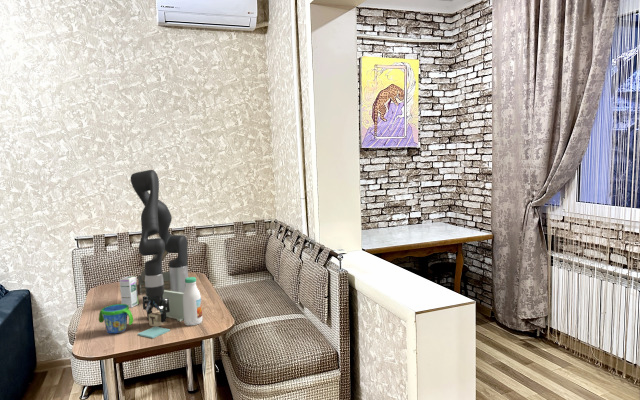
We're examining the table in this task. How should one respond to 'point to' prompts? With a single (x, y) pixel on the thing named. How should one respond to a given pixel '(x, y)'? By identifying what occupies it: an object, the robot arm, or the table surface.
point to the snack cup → (115, 317)
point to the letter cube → (155, 319)
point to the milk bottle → (192, 303)
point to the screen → (174, 304)
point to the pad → (153, 332)
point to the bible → (165, 278)
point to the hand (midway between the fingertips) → (156, 320)
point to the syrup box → (129, 291)
